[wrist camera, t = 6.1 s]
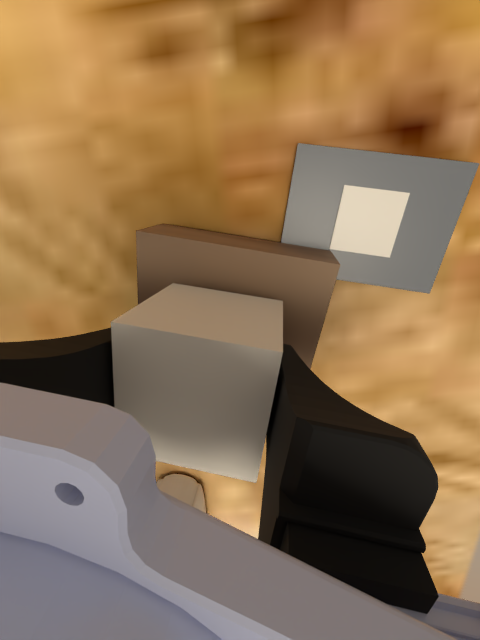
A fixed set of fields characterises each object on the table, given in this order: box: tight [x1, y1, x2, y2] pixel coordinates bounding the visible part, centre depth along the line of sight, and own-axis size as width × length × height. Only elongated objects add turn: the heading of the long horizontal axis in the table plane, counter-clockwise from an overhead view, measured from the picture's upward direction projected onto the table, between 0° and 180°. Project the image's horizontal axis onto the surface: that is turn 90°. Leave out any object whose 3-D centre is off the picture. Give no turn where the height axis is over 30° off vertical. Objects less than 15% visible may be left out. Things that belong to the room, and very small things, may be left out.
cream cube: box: [111, 283, 283, 483], centre depth 11 cm, size 5×5×5 cm
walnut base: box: [136, 224, 340, 369], centre depth 16 cm, size 9×9×3 cm
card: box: [281, 143, 479, 294], centre depth 14 cm, size 6×8×1 cm
